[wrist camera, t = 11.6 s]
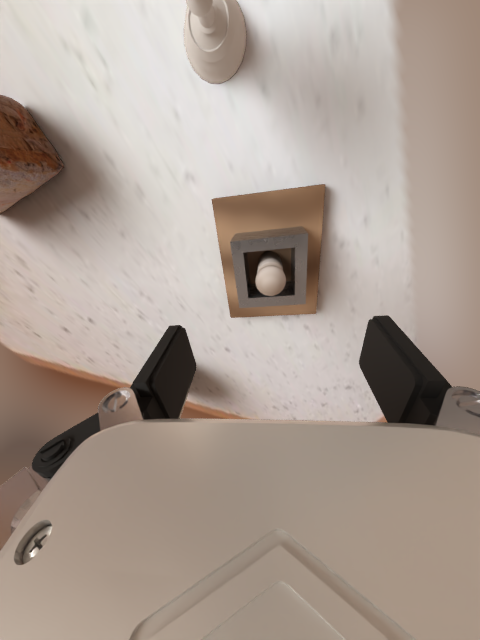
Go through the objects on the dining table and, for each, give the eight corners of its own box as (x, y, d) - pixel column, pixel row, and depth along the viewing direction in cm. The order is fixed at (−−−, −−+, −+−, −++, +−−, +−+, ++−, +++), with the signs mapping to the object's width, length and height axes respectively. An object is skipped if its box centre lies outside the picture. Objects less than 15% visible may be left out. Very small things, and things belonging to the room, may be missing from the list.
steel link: (235, 233, 24) (230, 241, 20) (301, 226, 23) (308, 233, 19) (242, 292, 27) (239, 308, 24) (300, 288, 26) (305, 304, 23)
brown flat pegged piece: (214, 198, 23) (192, 204, 16) (321, 184, 22) (348, 184, 15) (232, 312, 31) (221, 350, 23) (313, 307, 29) (329, 347, 22)
